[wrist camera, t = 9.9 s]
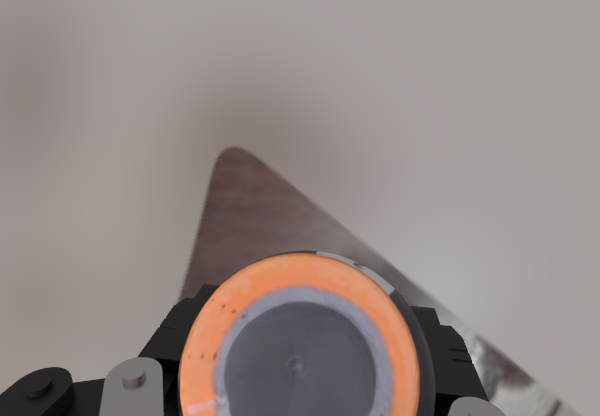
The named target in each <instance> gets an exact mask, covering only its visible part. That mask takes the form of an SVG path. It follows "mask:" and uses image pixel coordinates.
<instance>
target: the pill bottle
mask: <svg viewBox="0 0 600 416" xmlns="http://www.w3.org/2000/svg"><path fill="white" fill-rule="evenodd" d="M435 400H436V383H435V374H434V365H433V361H432V357H431V352H430V349H429V346H428V343H427V340H426V338H425V335H424V332H423V330H422V328H421V326H420V324H419V322H418V320H417V318H416V316H415V314H414V313H413V311H412V310H411V308H410V307H409V305H408V304H407V303H406V301H405V300H404V298H403V297H402V296H401V295H400V294H399V293H398V291H397V290H396V289H395V288H394V287H392V286H391V285H390V284H389V283H388V282H386V281H385V280H384V279H383V278H382V277H380V276H379V275H378V274H376V273H375V272H373V271H372V270H371V269H369V268H367V267H365V266H363V265H362V264H360V263H358V262H355V261H353V260H351V259H348V258H346V257H343V256H340V255H336V254H331V253H326V252H318V251H291V252H285V253H281V254H277V255H273V256H270V257H267V258H264V259H261V260H259V261H257V262H255V263H253V264H251V265H249V266H247V267H245V268H244V269H242V270H240V271H239V272H237V273H236V274H234V275H233V276H232V277H231V278H229V279H228V280H227V281H226V282H224V283H223V284H222V285H221V286H220V287H219V288H218V289H217V290H216V291H215V292H214V293H213V295H212V296H211V297H210V299H209V300H208V301H207V302H206V303H205V305H204V306H203V308H202V310H201V311H200V313H199V314H198V316H197V318H196V320H195V322H194V324H193V326H192V328H191V330H190V332H189V335H188V337H187V340H186V343H185V346H184V349H183V352H182V356H181V360H180V364H179V372H178V385H177V403H178V413H179V416H434V412H435Z"/></svg>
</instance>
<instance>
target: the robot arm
mask: <svg viewBox="0 0 600 416" xmlns="http://www.w3.org/2000/svg"><path fill="white" fill-rule="evenodd" d="M219 287H220V286H216V285H206V284H204V285H203V286H202V287H201V289H200V290H199V292H198V294H197V295H196V297H195V298H185V299H183V300H182V301H181V302H179V303H178V304H176V305H175V306H173V308H172V309H171V311H170V312H169V314H168V315H167V316H166V319H164V320H163V322H162V323H161V325H160V328H158V329H157V330H156V332H155V333H154V335H153V336H152V337H151V339H150V340H149V342H148V343H147V344H146V346H145V347H144V349H143V350H142V352H141V353H140V354H139V356H138V357H137V358H133V359H129V360H127V361H124V362H122V363H120V364H119V365H117V366H116V367H114V368H113V369H112V370H111V371H110V372H109V373H108V375H107V377H106V378H104V379H98V380H91V381H83V382H76V383H73V381H72V377H71V374H70V373H69V371H67V370H66V369H63V368H59V367H50V368H44V369H40V370H37V371H34V372H32V373H30V374H28V375H26V376H24V377H23V378H21V379H19V380H18V381H17V382H15V383H14V384H13V385H12V386H11V387H9V388H8V389H7V390H6V391H4V392H3V393H2V394H1V395H0V416H179V413H178V403H177V385H178V372H179V364H180V360H181V356H182V352H183V349H184V346H185V343H186V340H187V337H188V335H189V332H190V330H191V328H192V326H193V324H194V322H195V320H196V318H197V316H198V314H199V313H200V311H201V310H202V308H203V306H204V305H205V303H206V302H207V301H208V300H209V299H210V297H211V296H212V295H213V293H214V292H215V291H216V290H217V289H218V288H219ZM410 308H411V310H412V311H413V313H414V314H415V316H416V318H417V320H418V322H419V324H420V326H421V328H422V330H423V332H424V335H425V338H426V340H427V343H428V346H429V349H430V352H431V357H432V361H433V365H434V374H435V383H436V400H435V412H434V416H506V415H505V414H504V413H503V412H502V411H501V410H500V409H499V408H497V407H496V406H494V405H493V404H491V403H489V400H488V398H487V396H486V393H485V391H484V388H483V386H482V384H481V381H480V379H479V376H478V374H477V372H476V369H475V367H474V364H472V360H471V357H470V355H469V353H468V350H467V348H466V345H465V343H464V340H463V338H462V337H461V336H460V335H459V334H458V333H457V332H456V331H455V330H454V329H453V328H452V327H451V326H445V325H440V322H439V320H438V317H437V314H436V311H435V309H434V308H426V307H417V306H410Z"/></svg>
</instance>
